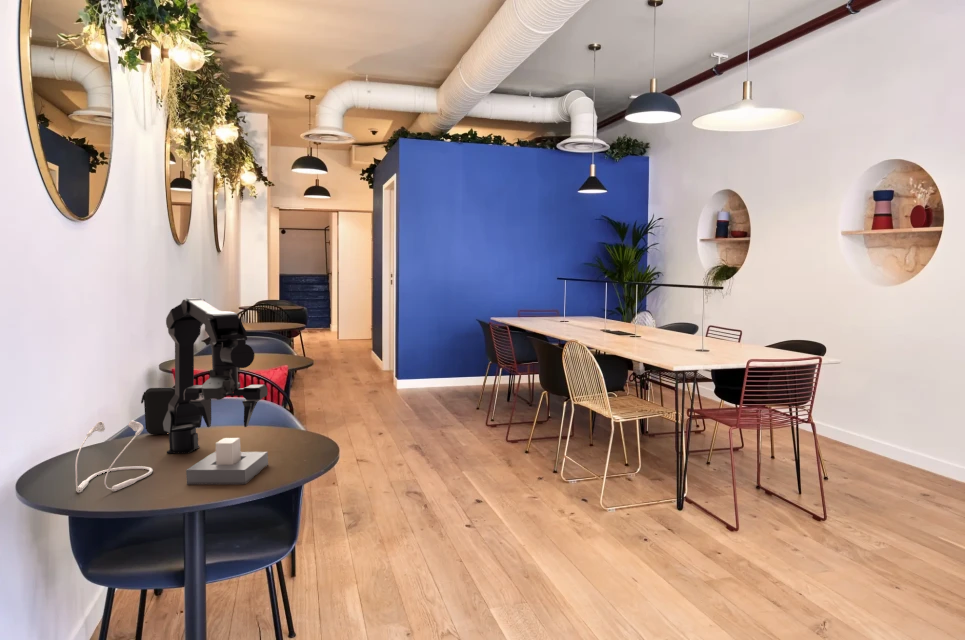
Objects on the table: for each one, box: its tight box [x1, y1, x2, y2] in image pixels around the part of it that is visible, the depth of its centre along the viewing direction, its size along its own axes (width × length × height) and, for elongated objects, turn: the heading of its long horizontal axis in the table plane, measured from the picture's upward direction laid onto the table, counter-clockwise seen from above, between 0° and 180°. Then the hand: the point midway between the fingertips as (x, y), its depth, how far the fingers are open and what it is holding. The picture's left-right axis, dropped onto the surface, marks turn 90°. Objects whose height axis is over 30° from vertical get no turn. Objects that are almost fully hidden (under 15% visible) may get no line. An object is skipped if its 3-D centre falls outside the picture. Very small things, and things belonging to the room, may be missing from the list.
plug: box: [215, 437, 242, 465], centre depth 158 cm, size 4×6×8 cm, turn 179°
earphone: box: [74, 419, 154, 493], centre depth 154 cm, size 14×17×18 cm
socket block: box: [185, 451, 269, 485], centre depth 157 cm, size 14×15×4 cm
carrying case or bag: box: [140, 386, 175, 435], centre depth 197 cm, size 11×3×15 cm, turn 96°
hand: (227, 426), depth 157 cm, fingers open, 9 cm apart
